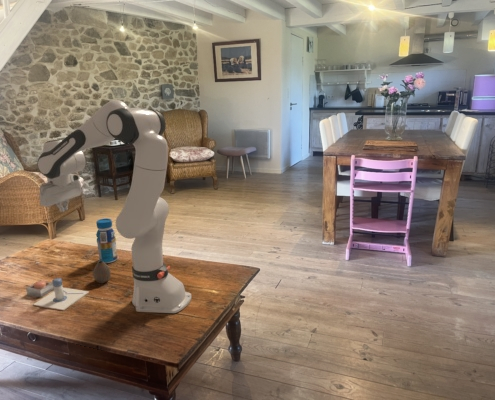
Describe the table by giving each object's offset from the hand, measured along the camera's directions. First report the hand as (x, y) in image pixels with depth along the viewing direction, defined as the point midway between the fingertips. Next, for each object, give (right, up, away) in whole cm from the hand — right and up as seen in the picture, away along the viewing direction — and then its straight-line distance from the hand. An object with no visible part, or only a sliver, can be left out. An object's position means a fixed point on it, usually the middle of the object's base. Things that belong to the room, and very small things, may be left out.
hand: (63, 211), depth 164 cm
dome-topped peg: (+5, -33, -14) cm, 37 cm away
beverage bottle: (+11, -24, +22) cm, 34 cm away
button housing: (-6, -32, -8) cm, 34 cm away
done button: (-5, -32, -8) cm, 33 cm away
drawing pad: (+5, -34, -13) cm, 36 cm away
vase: (+16, -30, +1) cm, 34 cm away
